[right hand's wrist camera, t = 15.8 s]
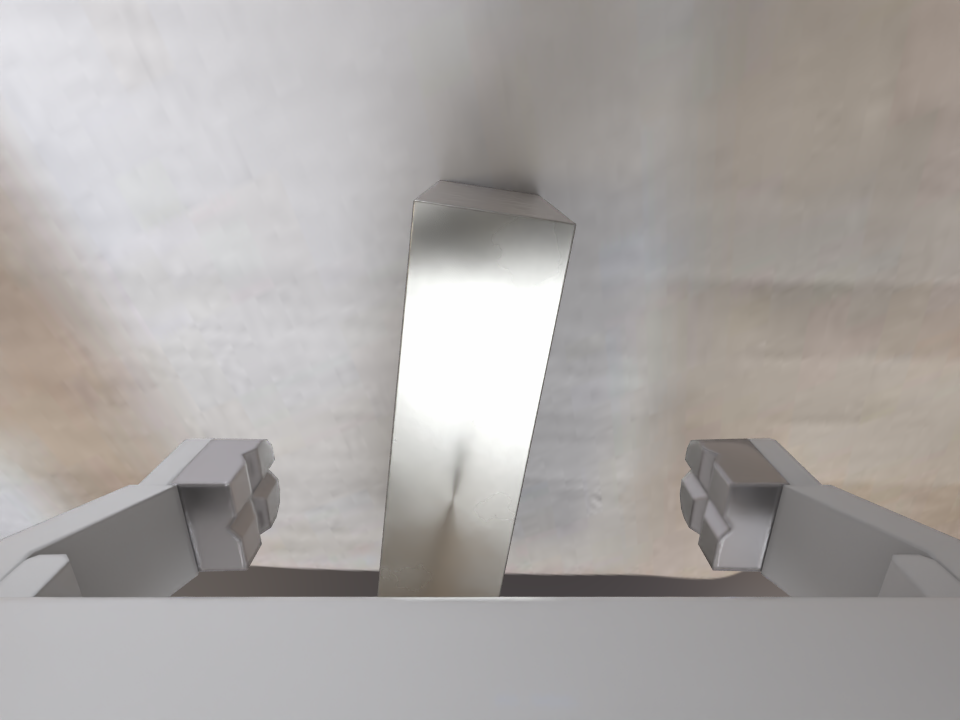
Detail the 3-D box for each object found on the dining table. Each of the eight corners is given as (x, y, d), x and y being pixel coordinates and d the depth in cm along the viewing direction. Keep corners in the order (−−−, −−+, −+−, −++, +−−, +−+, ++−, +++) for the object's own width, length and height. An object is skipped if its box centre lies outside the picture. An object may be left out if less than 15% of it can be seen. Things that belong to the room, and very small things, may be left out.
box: (439, 179, 31) (413, 199, 19) (539, 194, 31) (576, 223, 19) (402, 525, 40) (368, 685, 28) (479, 534, 40) (479, 696, 28)
